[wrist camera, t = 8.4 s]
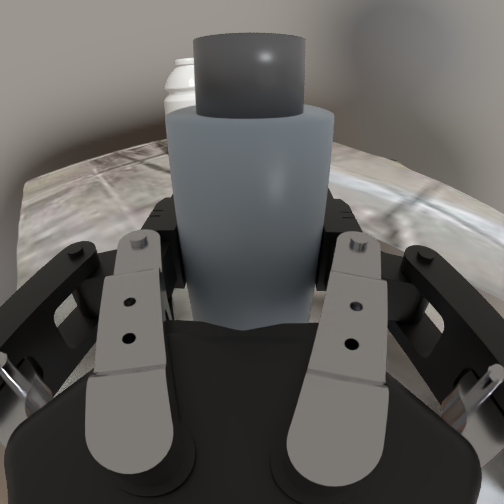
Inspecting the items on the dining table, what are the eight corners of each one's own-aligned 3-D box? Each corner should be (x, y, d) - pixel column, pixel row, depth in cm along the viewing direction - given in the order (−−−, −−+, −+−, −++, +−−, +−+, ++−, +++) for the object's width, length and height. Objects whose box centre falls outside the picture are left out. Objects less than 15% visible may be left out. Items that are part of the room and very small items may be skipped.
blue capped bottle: (290, 341, 16) (313, 46, 8) (302, 412, 13) (366, 39, 5) (208, 344, 16) (176, 47, 8) (206, 417, 12) (139, 38, 5)
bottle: (187, 143, 95) (182, 59, 79) (224, 146, 90) (221, 56, 74) (158, 156, 84) (150, 62, 68) (197, 160, 80) (192, 57, 64)
